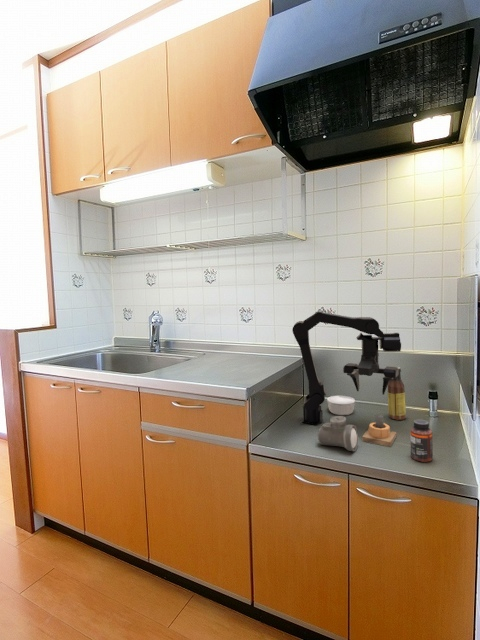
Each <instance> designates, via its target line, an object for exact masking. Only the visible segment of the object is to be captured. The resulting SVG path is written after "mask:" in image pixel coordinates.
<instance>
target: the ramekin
mask: <svg viewBox="0 0 480 640" xmlns="http://www.w3.org/2000/svg"><path fill="white" fill-rule="evenodd" d="M326 402H327V405H328V410H329V411H330V412H331V413H332V414H334V415H335V416H349V415H351V414H352V413H354V409H355V404H356V400H355V398H353V397H351V396H346V395H331V396H328V397H327V399H326Z"/></svg>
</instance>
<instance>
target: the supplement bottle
mask: <svg viewBox="0 0 480 640" xmlns="http://www.w3.org/2000/svg"><path fill="white" fill-rule="evenodd" d="M429 426H430V423H429V421H427V420H425V419H421V418H420V419H415V420H414V421H413V426H412V427H410V457H411V458H412V459H413V460H414V461H417V462H421V463H427V462H431V461H433V456H434V455H433V430H432V429H431V428H430V427H429Z"/></svg>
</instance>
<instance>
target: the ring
mask: <svg viewBox="0 0 480 640" xmlns="http://www.w3.org/2000/svg"><path fill="white" fill-rule="evenodd" d="M368 429H369V434H370V435H371V436H372V437H376V438H388V437H389V435H390V431H391V427H390V425H388V424H387V423H385V422H383V428H376V421H375V422H370V424H369V425H368Z"/></svg>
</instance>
